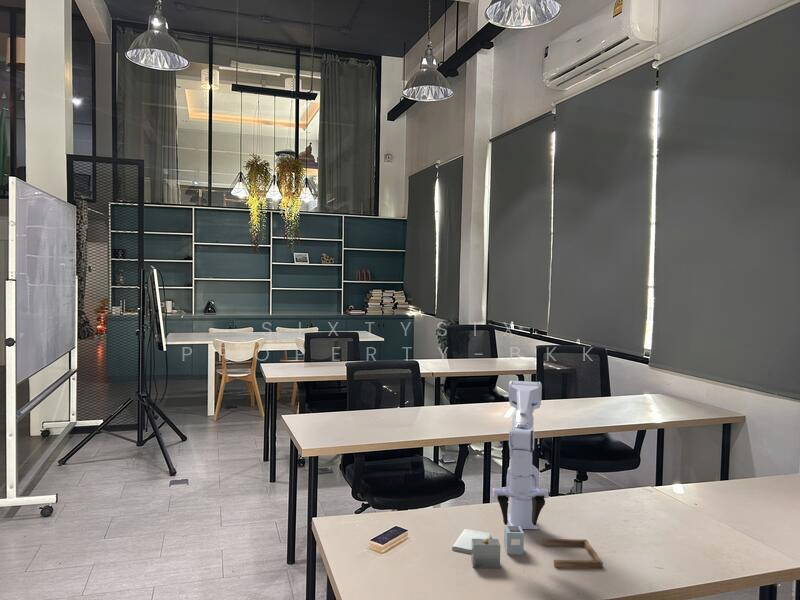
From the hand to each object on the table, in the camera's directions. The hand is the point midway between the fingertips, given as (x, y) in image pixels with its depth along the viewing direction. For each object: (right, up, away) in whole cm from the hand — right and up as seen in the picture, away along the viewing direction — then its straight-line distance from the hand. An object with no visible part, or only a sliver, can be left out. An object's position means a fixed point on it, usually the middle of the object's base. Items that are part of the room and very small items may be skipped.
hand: (519, 523), depth 151 cm
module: (-1, -10, +6) cm, 11 cm away
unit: (-10, -10, -2) cm, 14 cm away
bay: (+14, -10, +3) cm, 18 cm away
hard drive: (-12, -10, +10) cm, 18 cm away
